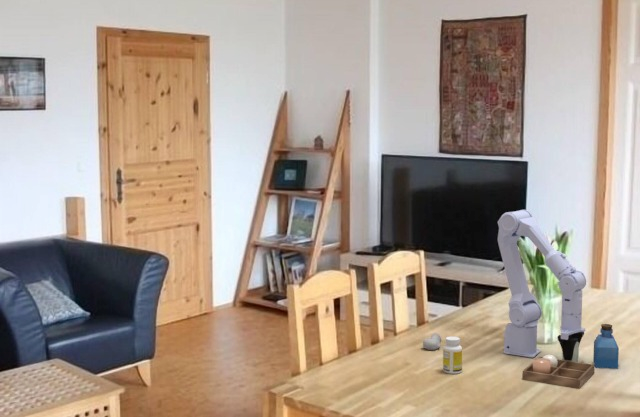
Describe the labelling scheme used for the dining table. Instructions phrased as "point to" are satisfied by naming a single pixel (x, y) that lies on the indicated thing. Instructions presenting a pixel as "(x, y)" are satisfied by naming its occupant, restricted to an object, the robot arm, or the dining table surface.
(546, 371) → the pink rounded cylinder
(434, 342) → the smooth white sculpture
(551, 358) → the egg
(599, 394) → the dining table surface
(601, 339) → the perfume bottle
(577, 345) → the sage green cylinder
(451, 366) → the supplement bottle
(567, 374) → the wooden compartment tray
